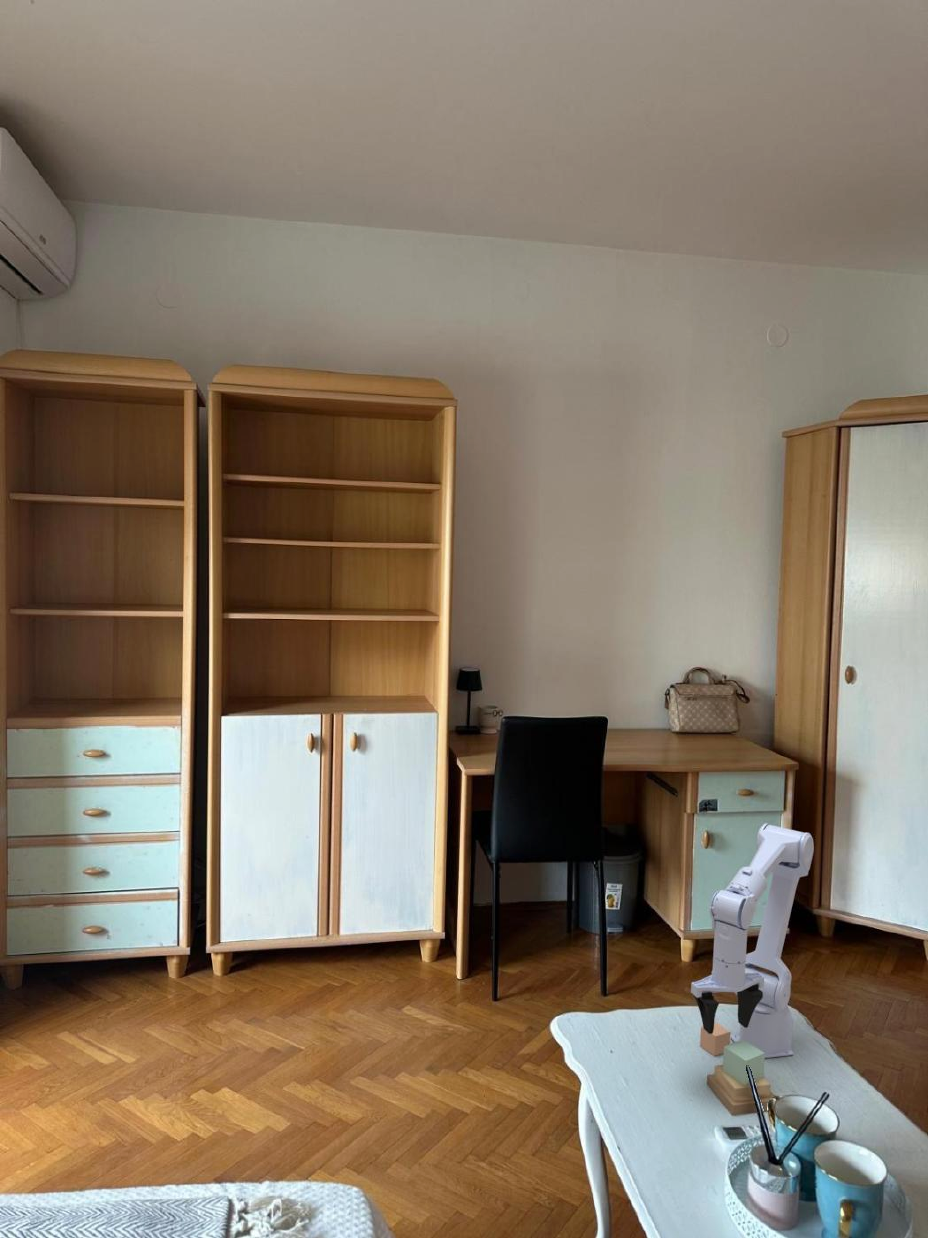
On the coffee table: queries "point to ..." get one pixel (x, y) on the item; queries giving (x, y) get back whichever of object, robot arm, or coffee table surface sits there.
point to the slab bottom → (732, 1106)
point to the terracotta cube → (715, 1039)
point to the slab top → (740, 1086)
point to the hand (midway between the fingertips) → (725, 1028)
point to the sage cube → (743, 1061)
